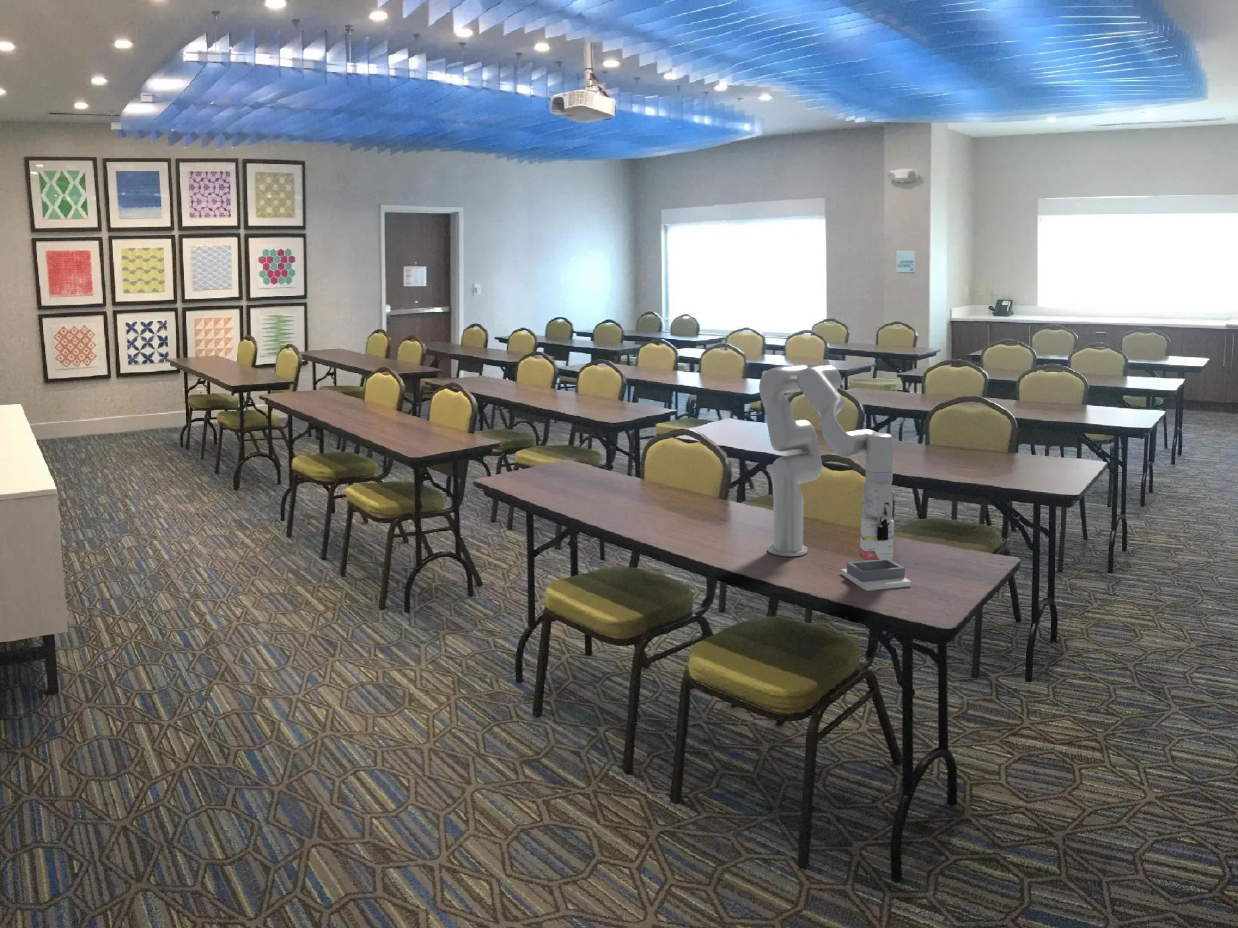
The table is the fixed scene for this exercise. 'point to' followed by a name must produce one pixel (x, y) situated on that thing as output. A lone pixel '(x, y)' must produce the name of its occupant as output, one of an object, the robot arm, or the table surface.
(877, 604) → the table surface
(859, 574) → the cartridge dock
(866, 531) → the ink cartridge box
